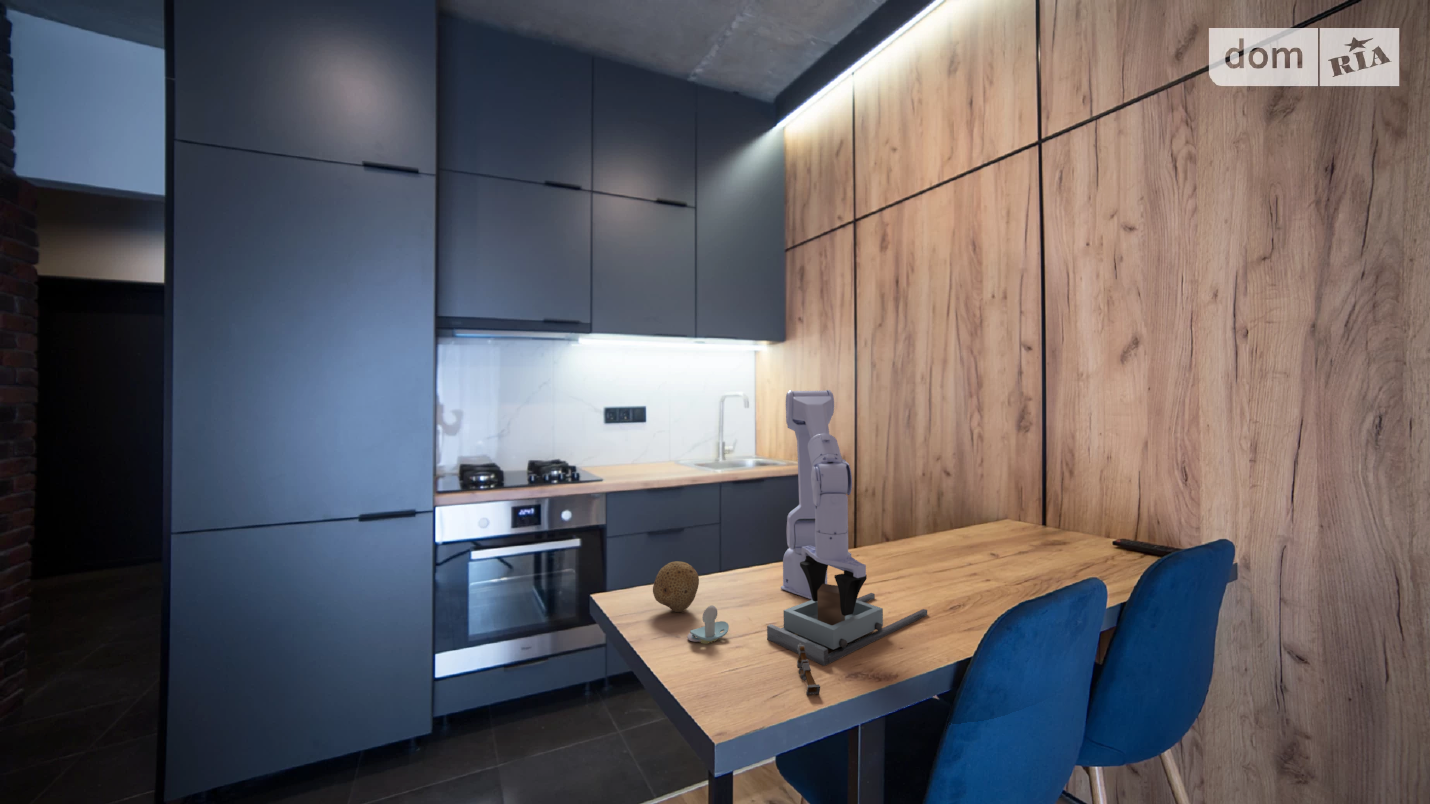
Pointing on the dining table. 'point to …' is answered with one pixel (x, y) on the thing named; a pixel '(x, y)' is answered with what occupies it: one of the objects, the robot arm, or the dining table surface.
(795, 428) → the robot arm
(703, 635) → the pacifier
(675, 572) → the natural sponge
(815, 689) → the wooden post with brackets
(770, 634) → the rail
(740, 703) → the dining table surface
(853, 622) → the cart
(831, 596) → the walnut block
